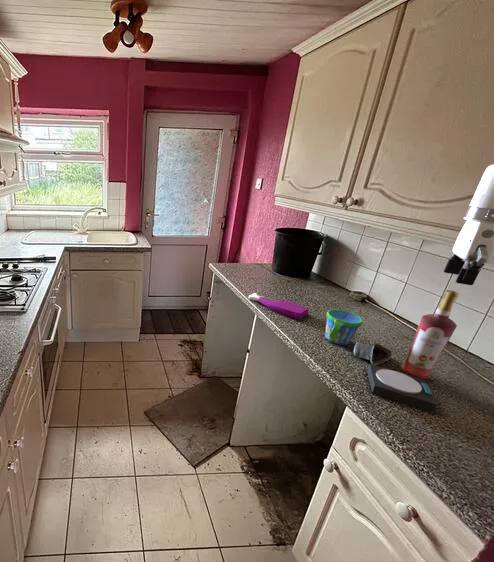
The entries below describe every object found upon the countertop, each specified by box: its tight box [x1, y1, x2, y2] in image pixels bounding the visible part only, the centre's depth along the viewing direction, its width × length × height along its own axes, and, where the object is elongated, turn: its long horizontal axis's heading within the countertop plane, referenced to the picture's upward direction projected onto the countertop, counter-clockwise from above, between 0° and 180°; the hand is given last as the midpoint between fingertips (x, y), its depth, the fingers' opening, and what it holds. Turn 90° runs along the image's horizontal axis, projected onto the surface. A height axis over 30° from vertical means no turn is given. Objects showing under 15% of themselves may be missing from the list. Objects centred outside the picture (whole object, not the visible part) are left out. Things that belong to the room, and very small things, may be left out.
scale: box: [366, 363, 437, 413], centre depth 89 cm, size 13×12×3 cm
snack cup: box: [324, 308, 364, 346], centre depth 112 cm, size 16×11×10 cm
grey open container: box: [353, 341, 393, 366], centre depth 104 cm, size 10×7×12 cm
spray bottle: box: [248, 292, 309, 320], centre depth 139 cm, size 3×11×24 cm
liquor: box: [400, 289, 460, 380], centre depth 91 cm, size 7×7×28 cm
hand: (457, 278), depth 85 cm, fingers open, 9 cm apart
